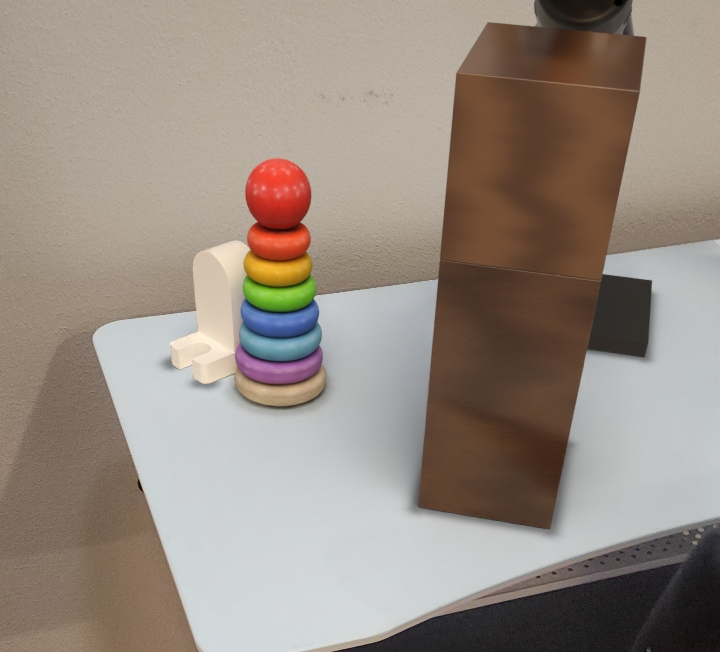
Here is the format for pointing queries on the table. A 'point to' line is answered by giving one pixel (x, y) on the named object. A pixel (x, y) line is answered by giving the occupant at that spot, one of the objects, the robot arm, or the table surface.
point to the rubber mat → (622, 316)
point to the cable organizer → (214, 313)
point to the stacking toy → (279, 292)
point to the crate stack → (522, 261)
